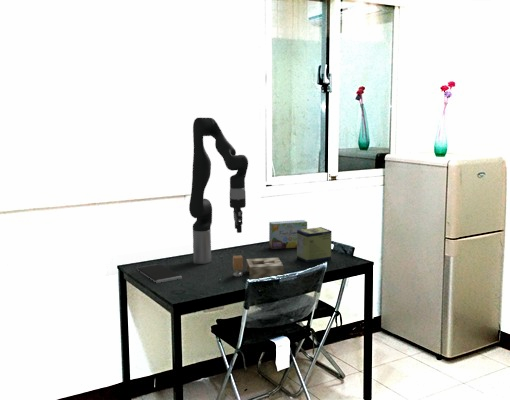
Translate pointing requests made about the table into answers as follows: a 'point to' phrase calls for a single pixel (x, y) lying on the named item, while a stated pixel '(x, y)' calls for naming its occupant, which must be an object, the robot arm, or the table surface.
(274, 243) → the snack box
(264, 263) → the shelf
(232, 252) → the table surface
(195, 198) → the robot arm
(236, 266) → the keyhole peg
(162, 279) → the smartphone
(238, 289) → the table surface
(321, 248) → the protein box
